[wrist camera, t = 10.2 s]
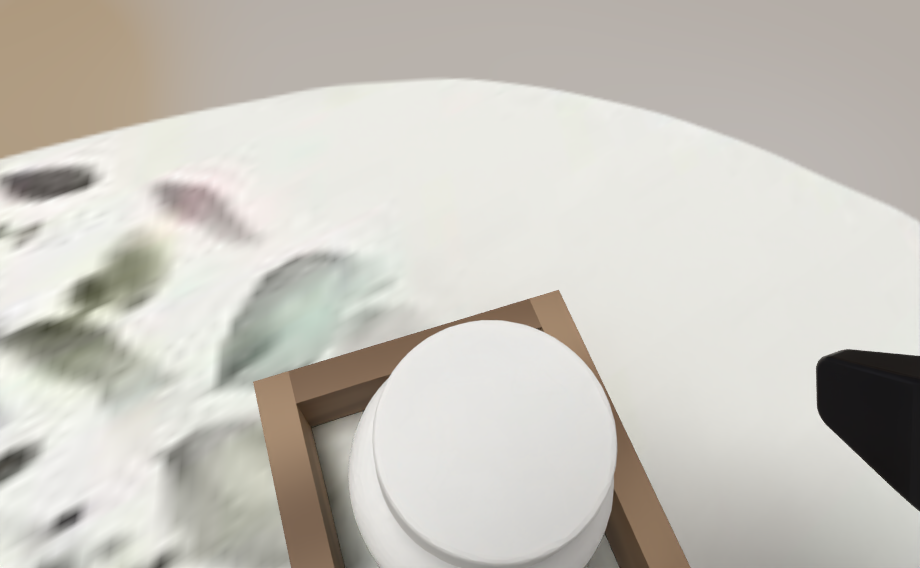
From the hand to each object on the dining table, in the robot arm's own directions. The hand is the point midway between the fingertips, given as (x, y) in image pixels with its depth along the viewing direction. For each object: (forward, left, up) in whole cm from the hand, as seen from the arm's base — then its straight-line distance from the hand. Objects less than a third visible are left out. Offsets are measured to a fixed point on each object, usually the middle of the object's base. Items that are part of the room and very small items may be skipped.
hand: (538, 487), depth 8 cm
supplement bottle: (+1, -1, -11) cm, 11 cm away
